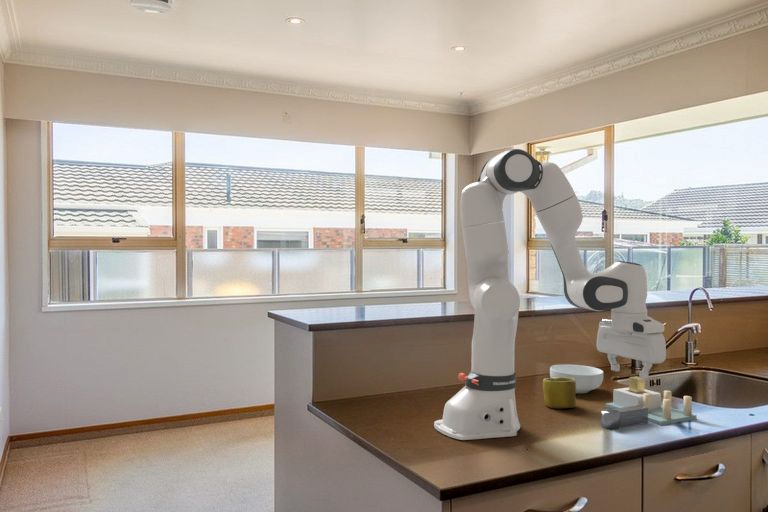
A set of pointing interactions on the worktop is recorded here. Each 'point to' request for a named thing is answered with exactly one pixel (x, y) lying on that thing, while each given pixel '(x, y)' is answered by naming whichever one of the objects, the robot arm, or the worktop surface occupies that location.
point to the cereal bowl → (579, 376)
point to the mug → (559, 392)
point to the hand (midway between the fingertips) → (629, 374)
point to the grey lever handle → (624, 416)
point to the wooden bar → (636, 385)
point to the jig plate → (659, 415)
